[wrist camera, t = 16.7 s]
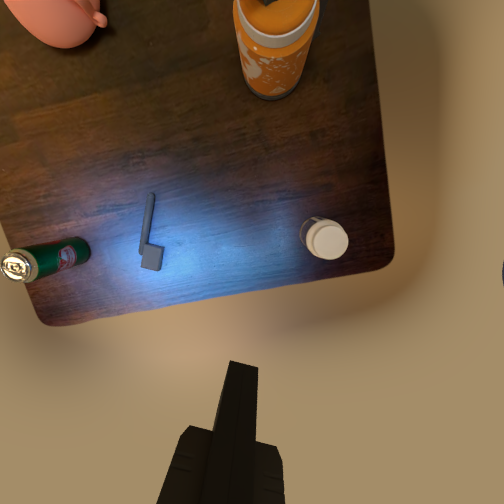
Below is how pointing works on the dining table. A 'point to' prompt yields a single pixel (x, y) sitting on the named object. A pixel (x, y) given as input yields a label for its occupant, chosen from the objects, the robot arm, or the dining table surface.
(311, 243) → the pill bottle
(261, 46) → the canister
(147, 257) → the axe
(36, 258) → the soda can
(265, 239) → the dining table surface
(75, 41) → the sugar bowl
